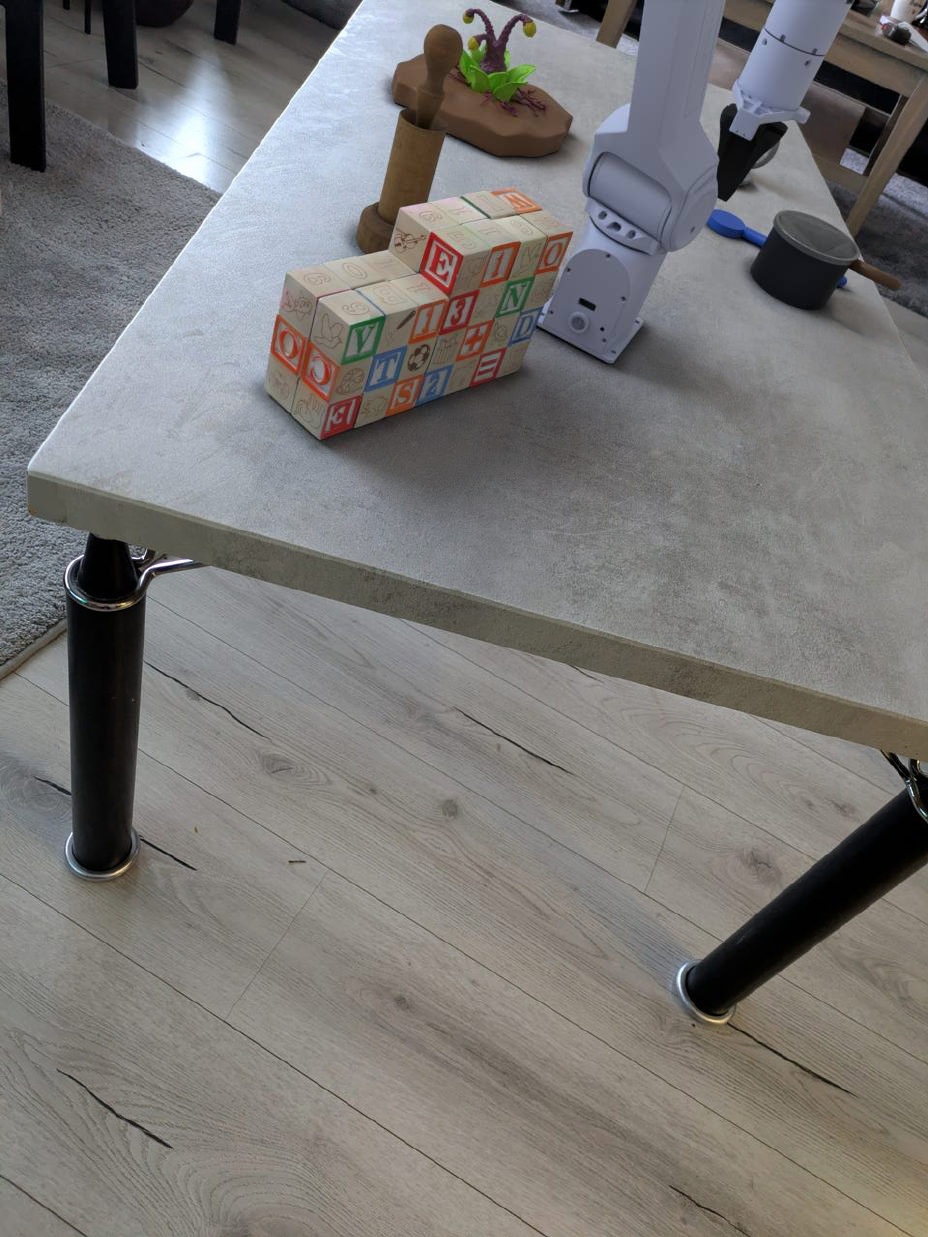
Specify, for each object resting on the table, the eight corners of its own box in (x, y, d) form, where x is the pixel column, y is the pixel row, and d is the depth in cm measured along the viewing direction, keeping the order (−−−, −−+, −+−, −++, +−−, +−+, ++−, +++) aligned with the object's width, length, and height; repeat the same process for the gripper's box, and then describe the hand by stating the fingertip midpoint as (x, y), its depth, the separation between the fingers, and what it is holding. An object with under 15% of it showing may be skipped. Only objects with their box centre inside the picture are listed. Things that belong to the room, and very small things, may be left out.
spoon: (846, 281, 113) (852, 272, 112) (840, 295, 109) (846, 285, 109) (711, 212, 114) (715, 203, 113) (701, 224, 111) (706, 214, 110)
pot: (867, 346, 102) (902, 295, 98) (739, 280, 104) (767, 227, 100) (877, 312, 109) (910, 263, 105) (757, 251, 111) (785, 200, 107)
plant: (514, 174, 105) (551, 63, 97) (364, 90, 108) (388, -24, 100) (587, 136, 119) (625, 37, 111) (453, 63, 122) (480, -39, 114)
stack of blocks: (319, 444, 66) (359, 280, 57) (260, 390, 68) (290, 223, 59) (520, 370, 79) (577, 228, 71) (466, 327, 81) (515, 183, 73)
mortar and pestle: (346, 223, 87) (395, 0, 74) (413, 230, 90) (471, 17, 77) (367, 265, 83) (423, 38, 71) (437, 271, 86) (502, 54, 74)
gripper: (824, 77, 77) (739, 238, 86) (850, 46, 87) (771, 193, 97) (743, 38, 78) (668, 202, 87) (778, 11, 88) (707, 160, 97)
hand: (718, 195), depth 92 cm, fingers closed
